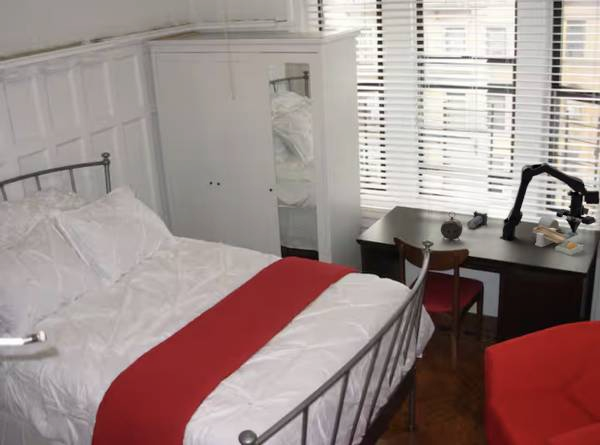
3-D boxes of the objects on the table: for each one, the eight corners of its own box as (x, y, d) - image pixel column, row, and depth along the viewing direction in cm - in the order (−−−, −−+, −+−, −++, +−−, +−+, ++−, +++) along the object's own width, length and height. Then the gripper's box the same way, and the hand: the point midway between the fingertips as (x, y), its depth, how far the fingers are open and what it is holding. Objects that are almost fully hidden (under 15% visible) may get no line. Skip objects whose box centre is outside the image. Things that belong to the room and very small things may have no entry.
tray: (571, 255, 342) (571, 250, 341) (555, 250, 349) (555, 244, 348) (583, 250, 347) (583, 244, 346) (567, 245, 354) (567, 239, 353)
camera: (475, 223, 393) (465, 231, 385) (473, 210, 391) (462, 218, 383) (490, 224, 387) (479, 231, 379) (488, 210, 385) (477, 218, 377)
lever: (556, 248, 350) (558, 239, 347) (531, 237, 360) (532, 228, 358) (576, 239, 359) (578, 230, 357) (551, 228, 370) (553, 220, 368)
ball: (564, 247, 348) (570, 252, 345) (567, 241, 345) (573, 246, 343) (568, 245, 350) (575, 250, 347) (572, 239, 347) (578, 244, 345)
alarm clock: (462, 239, 368) (463, 210, 363) (461, 243, 364) (462, 214, 358) (441, 238, 372) (441, 209, 366) (439, 241, 367) (440, 212, 362)
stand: (541, 247, 353) (542, 235, 351) (535, 245, 357) (535, 233, 354) (556, 241, 360) (557, 229, 358) (549, 239, 363) (550, 227, 361)
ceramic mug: (550, 234, 369) (551, 220, 367) (537, 230, 376) (538, 216, 373) (562, 229, 375) (564, 216, 372) (549, 225, 381) (551, 212, 379)
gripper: (602, 204, 350) (599, 233, 355) (569, 196, 364) (567, 224, 369) (589, 209, 344) (587, 238, 349) (556, 200, 358) (554, 229, 363)
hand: (573, 232), depth 358 cm, fingers closed, pressing on lever
